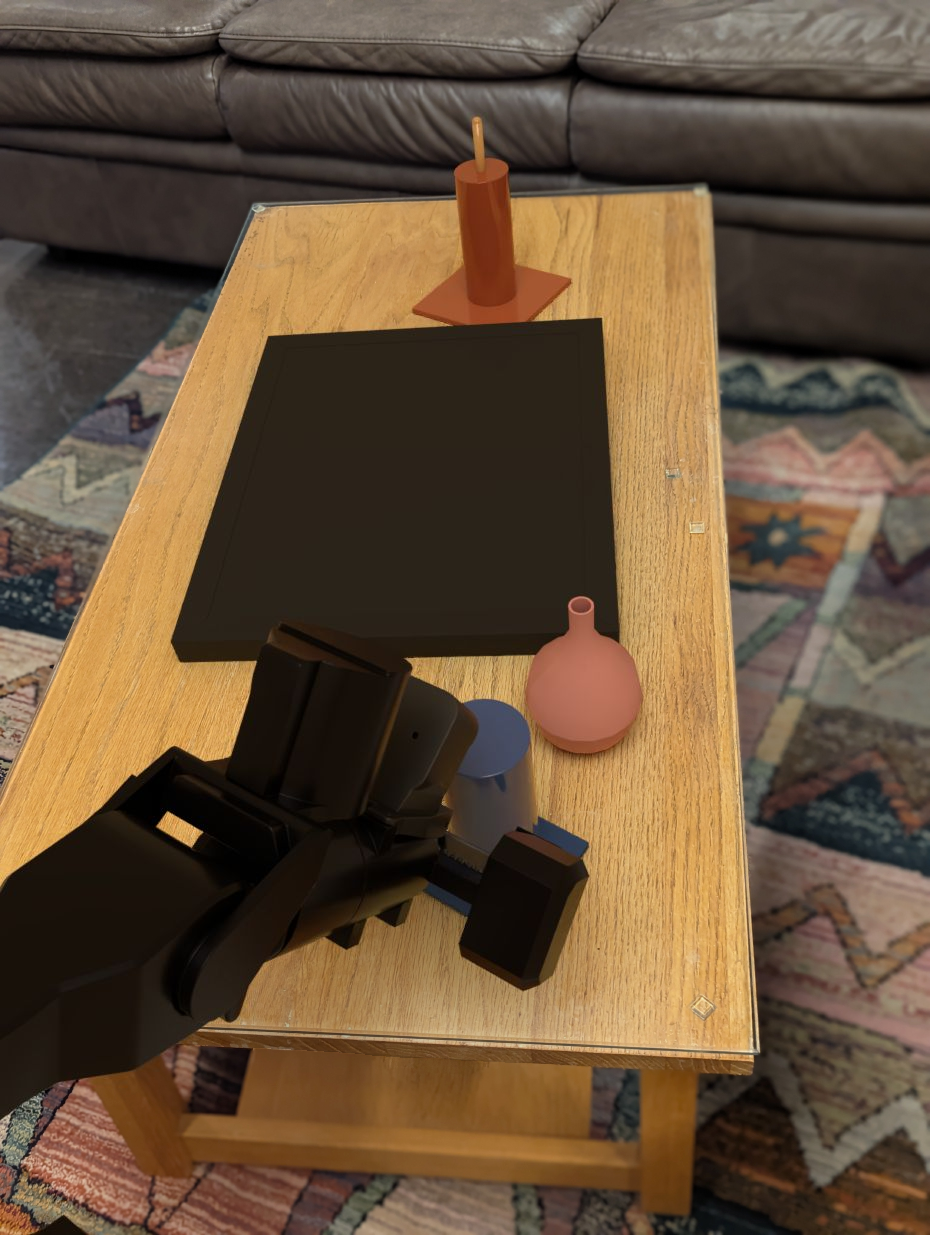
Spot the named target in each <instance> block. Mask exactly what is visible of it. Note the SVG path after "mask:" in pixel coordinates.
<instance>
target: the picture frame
mask: <svg viewBox="0 0 930 1235" xmlns="http://www.w3.org/2000/svg"><path fill="white" fill-rule="evenodd" d="M603 325H604V324H603V317H588V318H571V319H569V318H568V319H550V320H549V319H548V320H532V321H530V322H512V323H494V324H475V325H457V326H455V325H441V326H425V327H424V326H423V327H406V328H404V327H403V328H386V329H369V330H368V329H367V330H365V329H364V330H350V331H329V332H314V333H313V332H311V333H294V334H293V333H291V334H277V335H274V334H273V335H268V336H267V338H266V340H265V344H264V346H263V350H262V354H261V357H260V360H259V362H258V366H257V369H256V373H255V375H254V378H253V382H252V385H251V388H250V391H249V395H248V397H247V401H246V404H245V407H244V409H243V414H242V416H241V419H240V423H239V426H238V428H237V432H236V435H235V438H234V441H233V444H232V447H231V450H230V454H229V457H228V460H227V462H226V463H227V464H226V467H225V469H224V473H223V475H222V479H221V482H220V484H219V488H218V491H217V495H216V497H215V501H214V504H213V507H212V510H211V513H210V517H209V520H208V523H207V525H206V528H205V532H204V535H203V539H202V541H201V544H200V548H199V551H198V554H197V557H196V560H195V563H194V567H193V570H192V573H191V576H190V579H189V581H188V585H187V589H186V591H185V595H184V598H183V601H182V604H181V608H180V610H179V614H178V617H177V620H176V623H175V626H174V630H173V631H172V632H173V633H172V635H171V639H170V643H171V645H172V648H173V650H174V653H175V655H176V658H177V659H178V661H179V663H205V662H208V663H209V662H250V661H251V662H255V661H256V662H257V659H258V656H259V653H260V649H261V647H262V646H263V645H264V644H265V643H266V642H267V641H268V637H269V634H270V631H271V629H272V628H273V627H276V626H279V624H280V621H294V622H302V623H308V624H313V625H318V626H322V627H326V628H330V629H334V630H337V631H341V632H344V633H347V634H350V635H353V636H356V637H359V638H362V639H365V640H367V641H370V642H373V643H375V644H378V645H380V646H382V647H384V648H387V649H389V650H391V651H393V652H394V653H396V654H398V655H400V656H401V657H403V658H405V659H406V658H446V657H447V658H450V657H493V656H494V657H495V656H496V657H497V656H498V657H499V656H501V657H502V656H536V654H537V653H538V652H539V651H540V650H541V649H542V647H543V646H544V645H546V644H548V643H550V642H551V641H553V640H555V639H556V638H558V637H562V636H564V635H565V634H566V633H567V632H568V630H569V610H568V605H569V602H570V601H571V600H572V599H574V598H576V597H587V598H589V599H591V600H592V602H593V604H594V629H595V630H596V631H597V632H598V633H599V634H600V635H601V636H605V637H608V638H611V639H613V640H614V641H616V642H618V643H619V644H620V632H621V631H620V616H619V615H620V614H619V612H620V611H619V597H618V578H617V560H616V558H617V557H616V543H615V526H614V525H615V524H614V523H615V522H614V509H613V508H614V506H613V487H612V486H613V485H612V468H611V452H610V434H609V433H610V432H609V417H608V416H609V415H608V414H609V413H608V396H607V379H606V360H605V343H604V326H603Z"/></svg>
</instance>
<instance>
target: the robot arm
mask: <svg viewBox="0 0 930 1235" xmlns="http://www.w3.org/2000/svg"><path fill="white" fill-rule="evenodd" d="M413 670H414V667H413V664H412V663H411V662H410V661H409V660H408V659H406V657H405V658H403V657H401V656H400V655H398V654H396V653H394V652H393V651H391V650H389V649H387V648H384V647H382V646H380V645H378V644H375V643H373V642H370V641H367V640H365V639H362V638H359V637H356V636H353V635H350V634H347V633H344V632H341V631H337V630H334V629H330V628H326V627H322V626H318V625H313V624H308V623H302V622H294V621H280V624H279V626H276V627H273V628H272V629H271V631H270V634H269V637H268V641H267V642H266V643H265V644H264V645H263V646H262V647H261V649H260V653H259V656H258V659H257V661H256V662H255V666H254V669H253V672H252V677H251V682H250V689H249V695H248V699H247V702H246V705H245V709H244V712H243V715H242V718H241V722H240V725H239V728H238V732H237V734H236V737H235V741H234V744H233V748H232V751H231V753H230V755H229V756H227V757H224V758H219V759H218V758H217V759H211V760H203V759H201V758H199V757H198V756H196V755H194V754H192V753H191V752H188V751H187V750H184V749H182V748H181V747H179V746H176V745H173V746H170V747H169V748H168V749H166V750H165V752H163V753H162V754H161V755H159V756H158V757H157V758H156V759H155V760H154V761H152V763H150V764H149V765H148V766H147V767H146V768H145V769H143V770H142V771H141V772H140V773H139V774H138V775H135V774H133V773H131V774H130V776H128V778H126V780H125V781H124V782H123V783H122V784H121V785H120V786H119V787H118V788H117V789H116V791H115V792H114V793H113V794H112V795H111V796H110V797H109V798H108V799H107V800H106V801H105V803H104V804H103V805H102V806H101V807H100V808H98V809H97V810H95V811H94V812H93V814H91V815H90V816H89V817H88V818H87V819H85V820H84V821H83V822H82V823H81V824H80V825H78V826H76V827H75V828H74V829H72V830H71V831H69V832H68V833H67V834H65V835H64V836H62V837H61V838H59V839H58V840H56V841H55V842H53V843H52V844H51V845H49V846H47V847H46V848H45V849H43V850H42V851H41V852H39V853H38V854H37V855H35V856H34V857H32V858H31V859H29V860H28V861H27V862H25V863H24V864H22V865H20V866H19V867H18V868H17V869H15V870H14V871H12V872H11V873H10V874H8V875H7V876H6V877H5V878H4V879H3V881H2V882H1V884H0V1121H2V1120H3V1119H4V1118H6V1117H8V1115H10V1114H11V1113H12V1112H14V1111H15V1110H16V1109H18V1108H20V1106H22V1105H23V1104H25V1103H27V1102H28V1101H29V1100H32V1098H33V1099H34V1097H36V1096H38V1095H40V1094H41V1093H43V1092H45V1091H46V1090H48V1089H49V1088H52V1087H53V1086H54V1085H57V1084H59V1083H63V1082H65V1083H66V1082H71V1081H78V1080H83V1079H90V1078H96V1077H102V1076H103V1077H104V1076H109V1075H115V1074H122V1073H129V1072H132V1071H135V1070H137V1069H139V1068H141V1067H142V1066H144V1065H146V1064H147V1063H149V1062H151V1061H152V1060H153V1059H155V1058H156V1057H159V1055H161V1054H163V1053H165V1052H166V1051H168V1050H169V1049H171V1048H173V1047H174V1046H175V1045H178V1044H179V1043H180V1042H182V1041H184V1040H185V1039H187V1038H188V1037H190V1036H192V1035H193V1034H195V1033H197V1032H198V1031H199V1030H201V1029H202V1028H203V1027H205V1026H206V1025H208V1024H209V1023H212V1022H214V1021H216V1020H218V1019H221V1020H222V1021H224V1022H225V1023H227V1024H231V1023H234V1022H235V1021H236V1020H238V1018H239V1017H240V1016H241V1012H242V1009H243V1007H244V1003H245V1000H246V998H247V994H248V990H249V988H250V985H251V984H252V982H253V981H254V980H255V978H256V976H257V975H258V974H259V971H261V968H262V967H263V965H264V964H266V963H268V962H270V961H273V960H274V959H277V958H279V957H281V956H284V955H287V954H289V953H291V952H293V951H295V950H299V949H301V948H302V947H305V946H308V945H309V944H312V943H314V942H316V941H319V940H321V939H324V938H325V939H327V940H328V941H329V942H332V943H333V944H335V945H337V946H338V947H340V948H342V950H345V951H348V950H350V949H352V948H354V947H356V946H358V945H359V944H360V942H361V939H362V936H363V933H364V930H365V927H366V924H367V921H368V919H370V918H373V917H374V918H377V919H378V920H380V921H382V922H384V923H385V924H386V925H389V926H390V927H392V928H394V929H395V928H398V927H399V926H401V925H404V924H406V923H407V919H408V916H409V913H410V910H411V906H412V904H413V902H414V899H415V898H416V897H417V896H419V895H420V894H422V893H423V890H424V889H425V888H426V887H427V885H428V884H429V882H430V883H432V884H434V885H436V886H437V887H439V888H441V889H443V890H445V891H447V892H449V893H450V894H452V895H454V896H456V897H458V898H460V899H461V900H463V901H465V902H467V903H469V904H471V905H472V906H471V909H470V912H469V914H468V917H466V920H465V923H464V926H463V929H462V932H461V935H460V938H459V941H458V949H459V953H460V957H462V958H463V959H465V960H467V961H468V962H470V963H472V964H474V965H476V966H477V967H479V968H481V969H482V970H484V971H486V972H488V973H489V974H492V975H493V976H495V977H497V978H498V979H500V980H502V981H504V982H506V984H509V985H511V986H513V987H514V988H516V989H518V990H519V991H521V992H525V991H529V990H530V989H533V988H536V987H539V986H541V985H542V984H543V983H545V982H546V981H547V980H549V979H550V978H552V977H553V976H554V974H555V972H556V969H557V965H558V963H559V960H560V958H561V955H562V952H563V950H564V947H565V944H566V941H567V938H568V935H569V932H570V930H571V927H572V925H573V923H574V920H575V917H576V914H577V912H578V909H579V906H580V903H581V900H582V897H583V894H584V891H585V889H586V886H587V884H588V880H589V878H590V874H589V872H588V868H587V866H586V864H585V861H584V860H583V858H579V857H577V856H575V855H573V854H571V853H569V852H567V851H565V850H563V849H562V848H561V847H559V846H557V845H555V844H553V843H551V842H549V841H547V840H545V839H543V838H541V837H539V836H537V835H535V834H533V833H531V832H529V831H527V830H525V829H523V828H521V827H519V826H517V828H516V831H511V832H509V833H506V834H504V835H503V836H502V838H501V839H500V841H499V842H498V844H497V845H496V846H495V848H494V849H493V851H492V852H491V853H489V852H487V851H485V850H483V849H481V848H479V847H477V846H475V845H474V844H472V843H470V842H468V841H466V840H464V839H462V838H460V837H458V836H456V835H454V834H452V833H450V832H449V831H448V829H449V823H450V820H451V817H452V814H453V811H454V810H452V809H450V808H448V807H446V806H445V804H443V801H444V795H445V794H446V792H447V790H448V789H449V787H450V785H451V783H452V781H453V779H454V777H455V775H456V773H457V771H458V769H459V767H460V765H461V763H462V761H463V759H464V757H465V755H466V753H467V751H468V749H469V747H470V746H471V745H472V744H473V742H474V740H475V738H476V736H477V734H478V729H479V723H478V720H477V717H476V716H475V714H474V713H473V712H472V711H470V710H469V709H468V708H467V707H466V706H465V705H463V704H462V703H463V702H461V701H460V700H459V699H458V698H457V697H456V696H454V695H453V694H452V693H451V692H449V691H447V690H445V689H443V688H441V687H439V686H436V685H435V684H432V683H430V682H428V681H426V680H424V679H421V678H419V677H416V676H414V675H412V673H413ZM167 813H170V814H171V815H173V816H175V817H176V818H178V819H180V820H182V821H183V822H185V823H187V824H188V825H190V826H191V827H193V828H195V829H197V830H198V831H200V832H201V833H200V835H198V837H197V839H196V840H195V842H194V843H193V845H192V846H190V845H189V844H186V843H185V842H183V841H181V840H180V839H178V838H177V837H175V836H173V835H171V834H170V833H168V832H166V831H165V830H163V829H161V828H160V827H157V826H158V825H159V824H160V822H161V821H162V820H163V819H164V817H165V816H166V814H167ZM439 847H440V850H439V849H438V848H439ZM446 850H447V854H445V853H444V852H445V851H446ZM453 854H454V858H453V857H451V856H452V855H453ZM460 857H461V861H459V858H460ZM467 861H468V865H466V864H465V863H466V862H467ZM474 865H475V869H474V868H472V867H473V866H474ZM481 869H482V872H480V870H481ZM27 1235H90V1234H89V1233H88V1232H87V1231H86V1230H85V1229H83V1228H82V1227H80V1226H78V1225H77V1224H76V1223H74V1222H73V1221H72V1220H71V1219H70V1218H69V1217H68V1216H66V1215H65V1214H62V1215H61V1216H59V1217H57V1218H56V1219H55V1220H53V1221H52V1222H51V1223H50V1224H48V1225H46V1226H45V1227H43V1228H40V1229H39V1230H37V1231H34V1232H32V1233H28V1234H27Z"/></svg>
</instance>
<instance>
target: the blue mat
mask: <svg viewBox="0 0 930 1235" xmlns="http://www.w3.org/2000/svg"><path fill="white" fill-rule="evenodd" d="M538 826H539V837H541V838H543V839H545V840H547V841H549V842H551V843H553V844H555V845H557V846H559V847H561V848H562V849H563V850H565V851H567V852H569V853H571V854H573V855H575V856H577V857H579V858H581V859H583V857H584V855H585V853H586V852H587V851H588V849H589V848H590V843H589V841H587V840H585V839H583V838H581V837H579V836H578V835H576V834H574V833H572V832H570V831H568V830H567V829H565V828H563V827H560V826H558V825H556V824H555V823H552V822H551V821H549V820H547V819H546V818H543V817H541V816H539V815H538ZM448 832H450V829H449V831H448ZM450 833H451V832H450ZM438 849H439V850H440V847H439V848H438ZM444 853H445V854H447V850H446V851H445V852H444ZM451 857H453V858H454V854H453V855H452V856H451ZM422 893H424V894H426V895H428V896H430V897H432V898H433V899H435V900H436V901H438V902H440V903H441V904H443V905H445V906H447V907H448V908H450V909H451V910H453V911H455V912H457V913H458V914H460V915H462V916H464V917H465V918H467V917H468V914H469V912H470V909H471V906H472V905H471V904H469V903H467V902H465V901H463V900H461V899H460V898H458V897H456V896H454V895H452V894H450V893H449V892H447V891H445V890H443V889H441V888H439V887H437V886H436V885H434V884H432V883H430V882H429V884H428V885H427V887H426V888H425V889H424V890H423V891H422Z"/></svg>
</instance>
